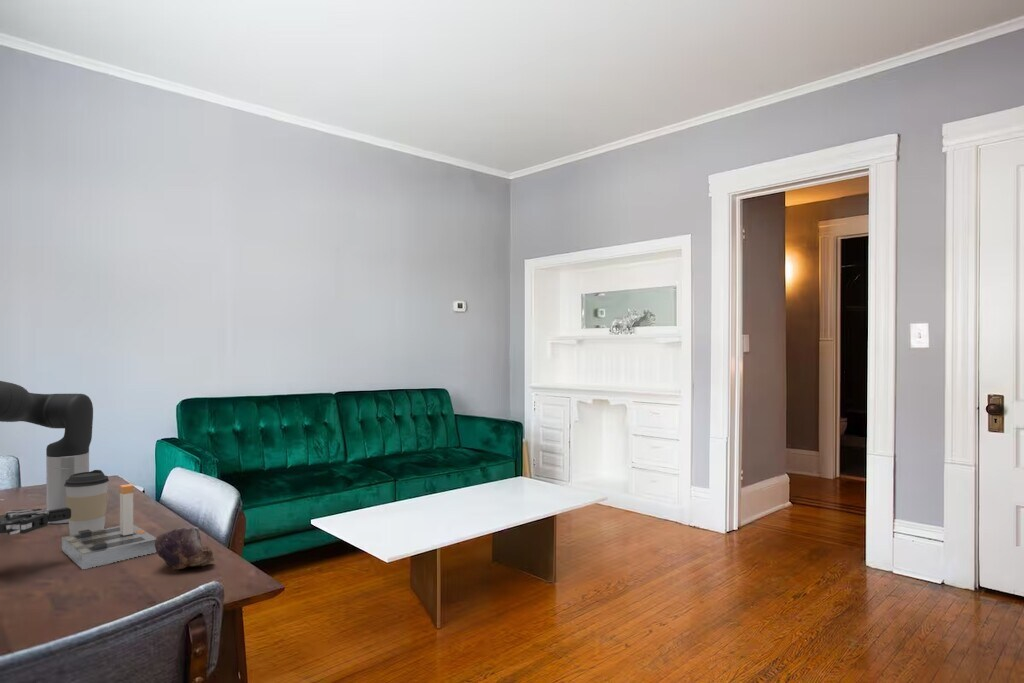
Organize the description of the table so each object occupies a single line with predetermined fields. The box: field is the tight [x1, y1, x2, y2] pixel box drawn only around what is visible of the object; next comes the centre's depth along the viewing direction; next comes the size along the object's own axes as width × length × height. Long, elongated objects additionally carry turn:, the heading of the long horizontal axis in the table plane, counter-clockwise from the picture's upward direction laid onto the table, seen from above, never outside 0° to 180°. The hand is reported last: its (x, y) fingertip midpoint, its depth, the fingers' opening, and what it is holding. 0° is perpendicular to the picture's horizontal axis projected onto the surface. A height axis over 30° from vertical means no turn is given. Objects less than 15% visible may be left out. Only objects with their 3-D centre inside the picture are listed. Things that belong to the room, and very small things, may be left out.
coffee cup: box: [64, 469, 110, 535], centre depth 151 cm, size 9×9×15 cm
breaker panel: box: [61, 523, 157, 571], centre depth 138 cm, size 18×14×4 cm
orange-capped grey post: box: [119, 483, 134, 536], centre depth 140 cm, size 2×2×11 cm
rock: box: [155, 525, 215, 571], centre depth 128 cm, size 12×9×10 cm
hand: (70, 512), depth 132 cm, fingers closed
